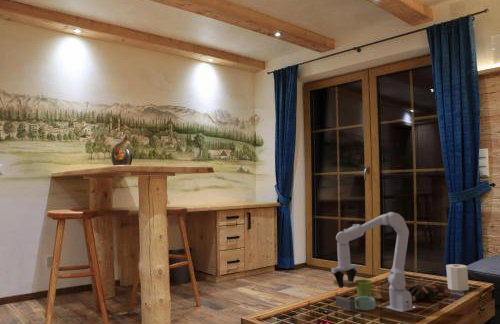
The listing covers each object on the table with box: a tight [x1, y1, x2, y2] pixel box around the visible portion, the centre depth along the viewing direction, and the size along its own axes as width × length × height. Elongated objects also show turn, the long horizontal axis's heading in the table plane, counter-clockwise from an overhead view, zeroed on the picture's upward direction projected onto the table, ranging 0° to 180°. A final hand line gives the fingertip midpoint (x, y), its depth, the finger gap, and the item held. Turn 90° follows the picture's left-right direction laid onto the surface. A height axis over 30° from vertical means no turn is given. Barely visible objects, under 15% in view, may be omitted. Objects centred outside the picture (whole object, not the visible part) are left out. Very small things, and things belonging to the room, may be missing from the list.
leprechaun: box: [408, 283, 445, 302], centre depth 204 cm, size 11×10×25 cm
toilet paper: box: [445, 263, 470, 292], centre depth 220 cm, size 10×10×12 cm
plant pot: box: [353, 278, 374, 297], centre depth 210 cm, size 9×9×9 cm
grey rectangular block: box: [335, 296, 356, 312], centre depth 193 cm, size 10×3×4 cm, turn 28°
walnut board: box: [332, 278, 358, 289], centre depth 194 cm, size 11×6×2 cm, turn 28°
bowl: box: [354, 296, 376, 311], centre depth 194 cm, size 9×9×4 cm
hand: (345, 286), depth 194 cm, fingers closed on walnut board, 5 cm apart
